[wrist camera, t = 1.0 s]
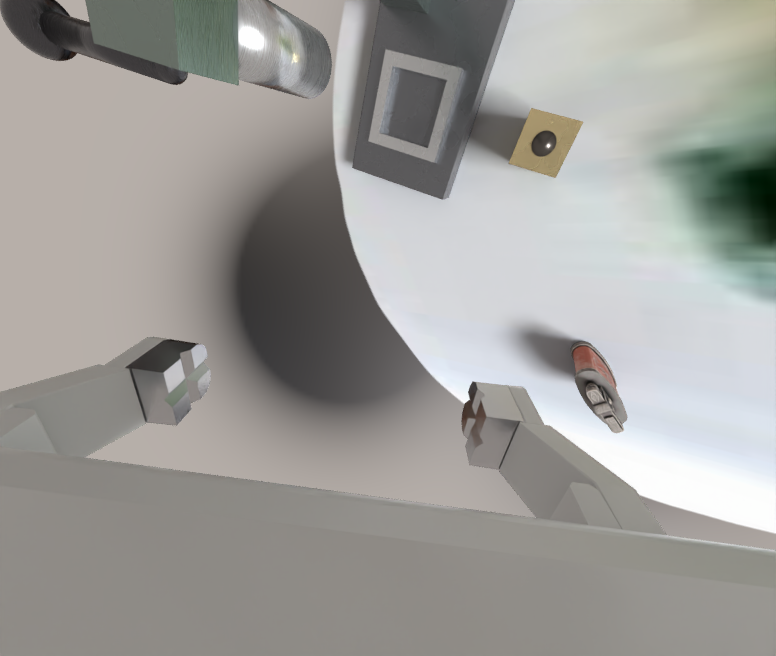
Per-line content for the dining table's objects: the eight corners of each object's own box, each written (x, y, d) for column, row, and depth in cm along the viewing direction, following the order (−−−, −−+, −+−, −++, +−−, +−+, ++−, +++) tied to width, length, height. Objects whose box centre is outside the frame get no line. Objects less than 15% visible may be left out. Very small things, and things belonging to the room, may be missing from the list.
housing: (534, 120, 35) (531, 107, 27) (574, 131, 34) (583, 121, 26) (515, 163, 37) (508, 163, 30) (553, 175, 36) (555, 177, 29)
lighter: (564, 347, 44) (569, 389, 36) (590, 337, 42) (601, 378, 34) (595, 392, 45) (606, 443, 36) (622, 384, 43) (640, 436, 34)
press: (360, -43, 35) (-261, -746, 8) (519, -15, 31) (350, -1242, 4) (333, 157, 46) (28, 145, 19) (448, 197, 42) (272, 256, 15)
